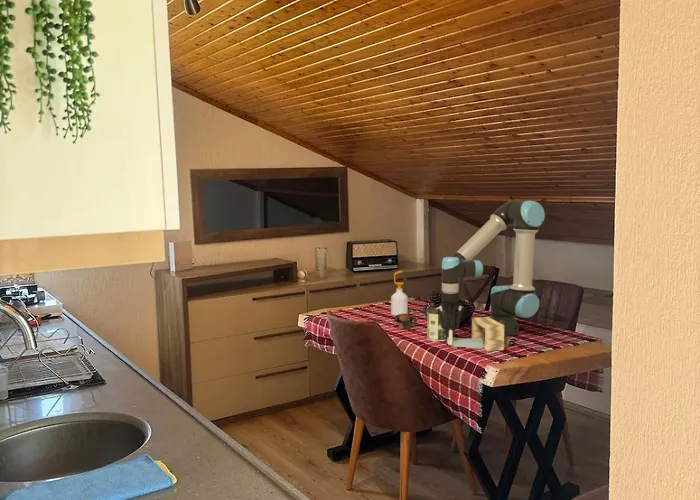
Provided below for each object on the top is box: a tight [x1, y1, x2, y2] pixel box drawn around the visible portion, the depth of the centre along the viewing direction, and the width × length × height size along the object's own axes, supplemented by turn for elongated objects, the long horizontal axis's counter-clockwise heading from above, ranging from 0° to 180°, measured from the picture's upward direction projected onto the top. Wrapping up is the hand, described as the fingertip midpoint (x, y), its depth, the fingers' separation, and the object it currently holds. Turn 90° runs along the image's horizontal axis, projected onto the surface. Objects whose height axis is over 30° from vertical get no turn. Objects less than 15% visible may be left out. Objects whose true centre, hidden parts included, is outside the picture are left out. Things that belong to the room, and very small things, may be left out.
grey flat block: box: [450, 337, 484, 349], centre depth 304 cm, size 14×7×3 cm, turn 80°
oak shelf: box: [471, 316, 510, 352], centre depth 304 cm, size 12×18×11 cm, turn 11°
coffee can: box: [426, 307, 447, 342], centre depth 316 cm, size 10×10×14 cm
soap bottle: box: [390, 270, 409, 317], centre depth 371 cm, size 9×9×25 cm
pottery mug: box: [393, 313, 418, 330], centre depth 341 cm, size 12×10×8 cm
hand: (449, 344), depth 301 cm, fingers closed
